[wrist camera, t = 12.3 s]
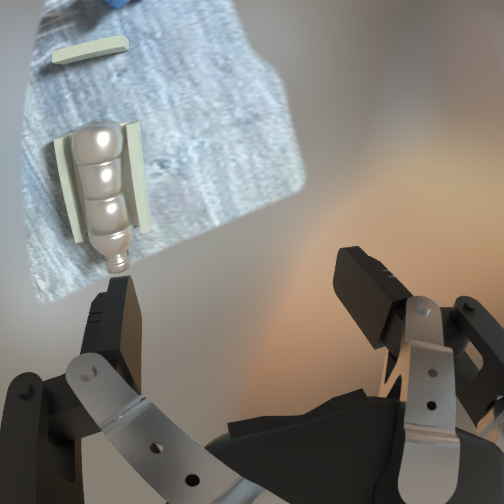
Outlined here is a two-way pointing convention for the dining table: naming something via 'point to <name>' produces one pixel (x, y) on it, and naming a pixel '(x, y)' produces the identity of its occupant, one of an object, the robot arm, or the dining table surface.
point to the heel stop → (90, 49)
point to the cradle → (131, 179)
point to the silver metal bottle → (104, 191)
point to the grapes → (116, 3)
